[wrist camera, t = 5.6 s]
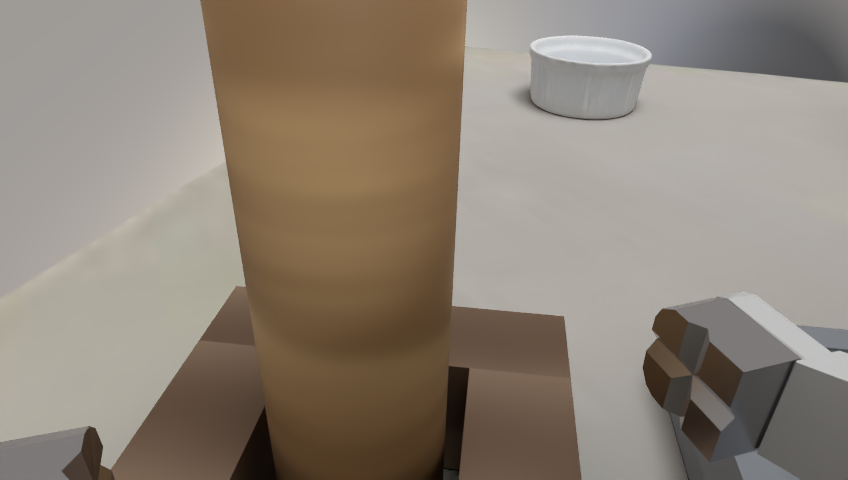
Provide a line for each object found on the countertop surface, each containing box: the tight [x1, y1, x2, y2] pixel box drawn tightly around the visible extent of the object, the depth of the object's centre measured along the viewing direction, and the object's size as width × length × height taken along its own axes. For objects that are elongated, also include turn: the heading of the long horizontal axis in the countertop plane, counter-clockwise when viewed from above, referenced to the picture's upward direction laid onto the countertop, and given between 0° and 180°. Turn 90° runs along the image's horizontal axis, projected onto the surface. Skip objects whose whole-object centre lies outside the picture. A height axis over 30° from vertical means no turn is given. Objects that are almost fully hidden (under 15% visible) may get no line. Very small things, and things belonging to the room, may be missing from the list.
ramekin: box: [530, 36, 652, 119], centre depth 47 cm, size 9×9×4 cm
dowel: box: [201, 0, 467, 480], centre depth 12 cm, size 4×4×16 cm
